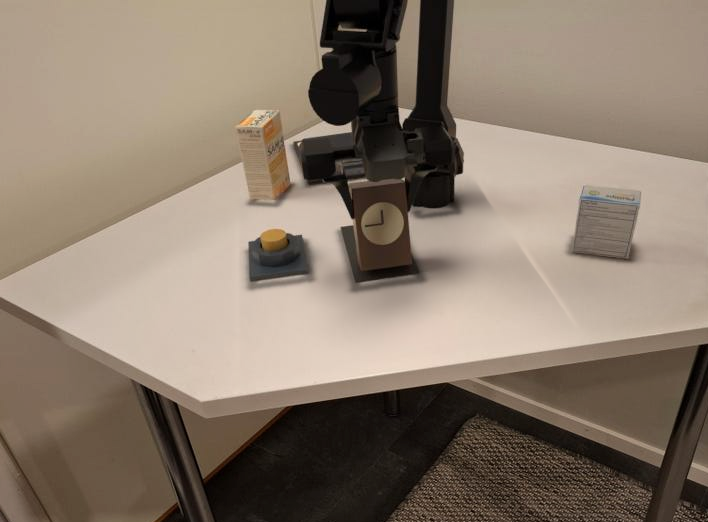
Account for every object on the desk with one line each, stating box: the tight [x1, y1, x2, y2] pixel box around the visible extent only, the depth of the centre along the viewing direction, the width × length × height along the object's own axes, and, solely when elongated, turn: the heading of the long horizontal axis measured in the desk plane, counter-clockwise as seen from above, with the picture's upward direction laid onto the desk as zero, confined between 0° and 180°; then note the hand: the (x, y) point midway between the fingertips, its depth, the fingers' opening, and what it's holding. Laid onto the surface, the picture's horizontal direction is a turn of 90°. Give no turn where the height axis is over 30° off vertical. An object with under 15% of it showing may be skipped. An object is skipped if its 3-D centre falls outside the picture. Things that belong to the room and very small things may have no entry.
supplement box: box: [235, 109, 292, 201], centre depth 105 cm, size 8×5×13 cm, turn 168°
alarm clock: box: [348, 179, 412, 271], centre depth 84 cm, size 7×11×4 cm
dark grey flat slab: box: [340, 224, 421, 284], centre depth 92 cm, size 9×16×1 cm, turn 11°
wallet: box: [292, 131, 366, 186], centre depth 119 cm, size 20×2×15 cm
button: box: [259, 228, 288, 251], centre depth 89 cm, size 4×4×2 cm
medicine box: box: [571, 184, 642, 260], centre depth 88 cm, size 8×4×9 cm, turn 71°
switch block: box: [247, 232, 309, 282], centre depth 90 cm, size 10×8×4 cm
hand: (379, 214), depth 83 cm, fingers closed on alarm clock, 7 cm apart
